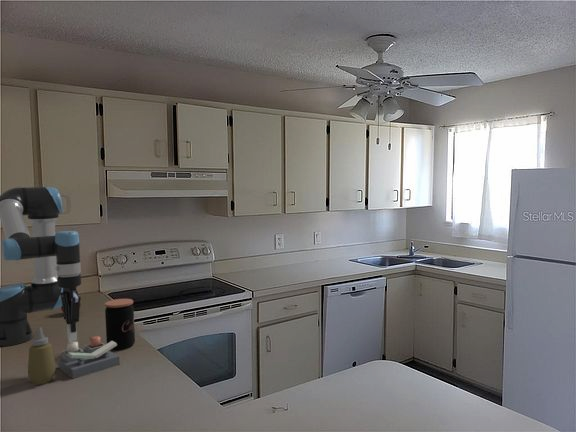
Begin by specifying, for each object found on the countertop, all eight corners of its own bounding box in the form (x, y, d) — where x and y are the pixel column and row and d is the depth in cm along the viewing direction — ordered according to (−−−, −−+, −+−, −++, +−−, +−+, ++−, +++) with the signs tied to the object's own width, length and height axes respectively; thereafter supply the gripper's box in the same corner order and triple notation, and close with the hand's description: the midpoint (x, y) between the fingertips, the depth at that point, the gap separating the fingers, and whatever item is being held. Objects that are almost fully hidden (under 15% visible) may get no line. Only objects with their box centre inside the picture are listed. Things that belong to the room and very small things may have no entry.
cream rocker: (93, 357, 156) (91, 353, 156) (113, 344, 162) (111, 340, 161) (97, 360, 154) (95, 355, 153) (118, 347, 159) (116, 343, 159)
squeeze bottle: (61, 377, 147) (59, 325, 146) (41, 388, 140) (38, 332, 139) (43, 374, 150) (40, 323, 149) (22, 385, 143) (19, 330, 141)
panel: (58, 367, 156) (57, 352, 156) (103, 354, 168) (102, 340, 167) (73, 378, 147) (72, 362, 146) (119, 364, 158) (118, 349, 158)
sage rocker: (66, 357, 150) (68, 352, 150) (89, 358, 156) (91, 353, 156) (70, 360, 147) (72, 355, 148) (93, 361, 153) (95, 355, 153)
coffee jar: (125, 351, 171) (123, 305, 170) (101, 349, 173) (99, 304, 172) (140, 341, 181) (138, 299, 180) (116, 340, 183) (115, 298, 182)
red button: (88, 346, 162) (88, 337, 162) (98, 344, 165) (98, 335, 164) (92, 349, 160) (92, 339, 159) (102, 346, 162) (102, 337, 162)
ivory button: (65, 352, 156) (65, 343, 156) (76, 350, 159) (75, 340, 159) (69, 355, 154) (69, 345, 154) (80, 352, 156) (79, 343, 156)
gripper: (51, 274, 156) (54, 339, 158) (64, 279, 147) (68, 347, 149) (73, 271, 162) (76, 334, 163) (87, 275, 153) (90, 341, 154)
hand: (72, 340), depth 156 cm, fingers closed
